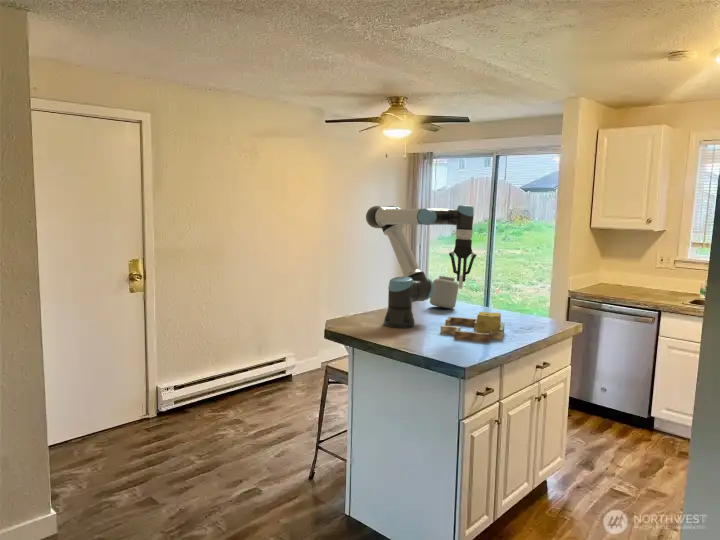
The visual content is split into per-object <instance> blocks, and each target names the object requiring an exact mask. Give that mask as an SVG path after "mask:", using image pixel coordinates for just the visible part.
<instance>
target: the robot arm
mask: <svg viewBox="0 0 720 540" xmlns="http://www.w3.org/2000/svg"><path fill="white" fill-rule="evenodd" d="M474 211H475V210H474V206H472V205H462V204H461V205H459V204H458V206H457V208H456V209H454V208H443V207H442V208H431V207H425V208H400V207H398V206H395V205H374V206H371V207H370V208H369V209H368V210H367V212H366V214H365V219H366V223H367V224H368V225H369V226H370V227H372V228H374V229H381V230H382V232H383V234H384V235H385V236H387V237H388V239H389V242H390V244H391V247H392V249H393V252H394V254H395V257H396V259H397V262H398V265H399V267H400V269H401V271H402V275H403V276H396V277H393V278H390V280H389V283H388V296H387V297H388V299H387V311H386V314H385V316H384V319H383V325H384V326H387V327H388V328H389V327H390V328H398V329H405V328H406V329H409V328H412V327H415V324H416V323H415V321H416V320H415V318H414V314H413V310H412V307H413V303H417V302H424V301H427V300H428V299H429V300H430V297H431V296H432V295H433V292H434V284H433V280H432V279H431V278H429V277H426V274H425V272H424V271H422V269H420V268H419V266H418V262H417V260H416V258H415V255H414V253H413V251H412V248H411V246H410V243H409V241H408V239H407V236H406V234H405V231H404V228H405V225H409V226H410V225H416V226H417V225H419V226H421V225H424V226H430V225H431V226H432V225H433V226H434V225H435V226H436V225H437V226H438V225H441V226H445V225H450V226H455V227H456V228H455V230H456V231H455V240H454V241H455V242H454V243H455V244H454V249H453V251H450V252H448V256H449V258H450V259H451V260H450V261H451V265H452V272H453V274H456V282H458V285H459V287H458V290H459V289H460V290H462V289H463V287H464V284H463V283H464V282H465V281H466V277H467V276H466V275H469V274H470V273H471V270H472V268H473V264H474V261H475V259H476V257H477V253H474V252H473V250H472V243H473V241H472V239H473V224H474V217H475V214H474ZM455 255H456V257H457V265H456V260H455V259H456V258H455ZM469 256H470V257H471V258H470V261H469V264H468V263H467V261H468V258H469ZM462 259H463V260H462ZM462 261H463V264H462ZM467 264H468V266H467ZM462 265H463V267H462ZM461 269H462V274H461Z"/></svg>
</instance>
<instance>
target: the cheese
mask: <svg viewBox="0 0 720 540" xmlns="http://www.w3.org/2000/svg"><path fill="white" fill-rule="evenodd" d="M476 319H477V327H476V330H475V333H485V334H486V331H487V330H493V331H499V329H500V325H501V323H502V321H501V319H502V315H501V312H488V311H478V314H477V316H476Z"/></svg>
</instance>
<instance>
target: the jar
mask: <svg viewBox="0 0 720 540" xmlns="http://www.w3.org/2000/svg"><path fill="white" fill-rule="evenodd" d="M447 271H448V269H447V270H446V271H445V273H446V272H447ZM432 282H433V284H434V292H433V295H432V296H431V297H430V298H429V303H430V304H431V305H432V306H434V307H439V308H445V309H454V308H455V307H456V303H457V297H458V293H459V282H458V281H456V280H455V278H454V277H448V276H445V275H444V276H442V275H439V276H438V278H435V279H434V280H432Z"/></svg>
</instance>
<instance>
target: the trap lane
mask: <svg viewBox="0 0 720 540" xmlns="http://www.w3.org/2000/svg"><path fill="white" fill-rule="evenodd" d="M453 325H456V326H453ZM457 325H458V326H457ZM461 326H465V327H466V326H467V327H474V328H473V330H475V332H473V331H462V330H461ZM476 327H477V318H471V317H459V316H458V317H456V316H448V317H447V319H445V324H444V325H443V324H441V325H440V334H441V335H442V334H443V335H452V336H453V337H454V340H464V341H472V342H481V343H489V342H490V339H493V340H500V341H501V340H503V337H504V333H505V322H501V324H500V329H499V331H493V330H487V331H486V334H485V333H476Z"/></svg>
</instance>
